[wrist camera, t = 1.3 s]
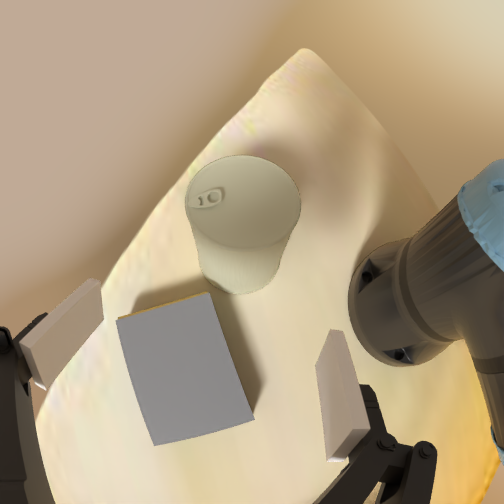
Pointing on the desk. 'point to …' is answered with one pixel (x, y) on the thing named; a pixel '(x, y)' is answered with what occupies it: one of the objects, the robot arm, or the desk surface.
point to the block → (182, 370)
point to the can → (241, 220)
